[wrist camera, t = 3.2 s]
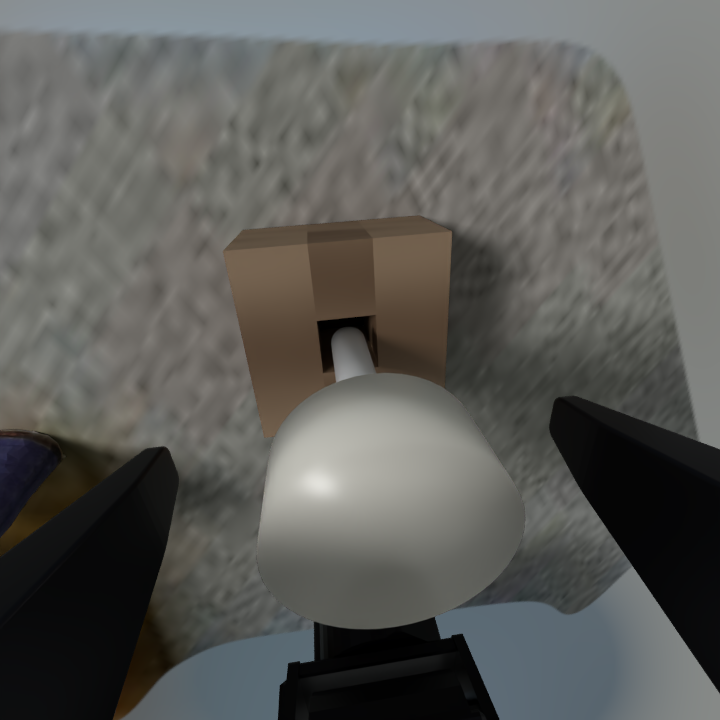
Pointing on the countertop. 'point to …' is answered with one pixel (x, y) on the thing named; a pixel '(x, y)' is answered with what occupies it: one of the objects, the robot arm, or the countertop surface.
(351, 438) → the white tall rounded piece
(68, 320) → the countertop surface
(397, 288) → the block
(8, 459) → the flask
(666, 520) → the robot arm
